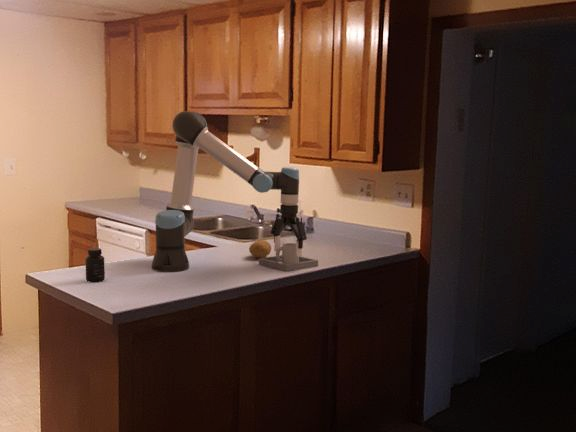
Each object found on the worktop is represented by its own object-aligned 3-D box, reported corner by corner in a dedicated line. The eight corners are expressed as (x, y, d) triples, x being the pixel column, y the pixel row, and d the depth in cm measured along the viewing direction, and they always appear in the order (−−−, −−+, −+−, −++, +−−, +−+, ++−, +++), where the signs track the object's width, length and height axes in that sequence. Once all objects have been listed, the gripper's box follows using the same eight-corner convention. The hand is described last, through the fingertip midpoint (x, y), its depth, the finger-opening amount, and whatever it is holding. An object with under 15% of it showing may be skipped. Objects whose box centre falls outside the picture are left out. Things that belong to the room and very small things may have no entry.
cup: (299, 266, 277) (299, 246, 276) (276, 266, 276) (276, 245, 275) (298, 263, 284) (298, 243, 283) (275, 263, 283) (275, 243, 282)
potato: (273, 255, 301) (273, 238, 300) (268, 261, 288) (269, 243, 287) (252, 254, 302) (252, 237, 301) (247, 260, 289) (247, 242, 288)
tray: (286, 271, 267) (286, 265, 267) (258, 264, 280) (258, 258, 280) (318, 265, 279) (318, 260, 279) (289, 259, 292) (289, 253, 292)
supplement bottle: (82, 280, 245) (81, 248, 244) (99, 277, 250) (98, 246, 249) (91, 283, 240) (90, 251, 239) (108, 280, 245) (107, 249, 244)
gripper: (316, 206, 270) (314, 257, 272) (276, 200, 288) (275, 248, 291) (303, 207, 265) (301, 259, 267) (263, 201, 283) (262, 249, 286)
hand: (287, 253), depth 279 cm, fingers open, 13 cm apart
